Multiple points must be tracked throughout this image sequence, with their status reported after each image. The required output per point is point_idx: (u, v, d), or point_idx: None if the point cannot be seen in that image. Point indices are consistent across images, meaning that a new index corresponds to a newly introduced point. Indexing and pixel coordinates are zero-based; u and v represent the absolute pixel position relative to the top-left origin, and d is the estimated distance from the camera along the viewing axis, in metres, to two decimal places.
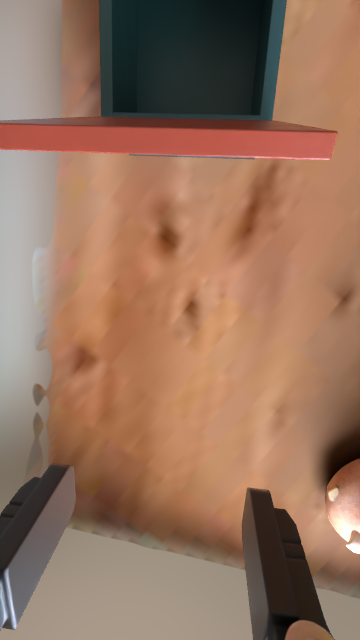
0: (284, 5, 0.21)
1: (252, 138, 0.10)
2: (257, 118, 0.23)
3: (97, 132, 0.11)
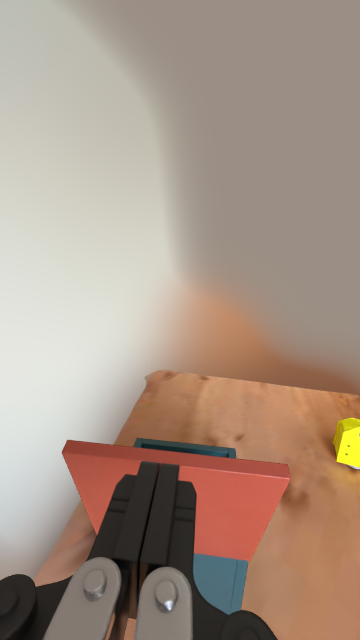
0: None
1: (239, 462, 0.18)
2: None
3: (146, 451, 0.18)
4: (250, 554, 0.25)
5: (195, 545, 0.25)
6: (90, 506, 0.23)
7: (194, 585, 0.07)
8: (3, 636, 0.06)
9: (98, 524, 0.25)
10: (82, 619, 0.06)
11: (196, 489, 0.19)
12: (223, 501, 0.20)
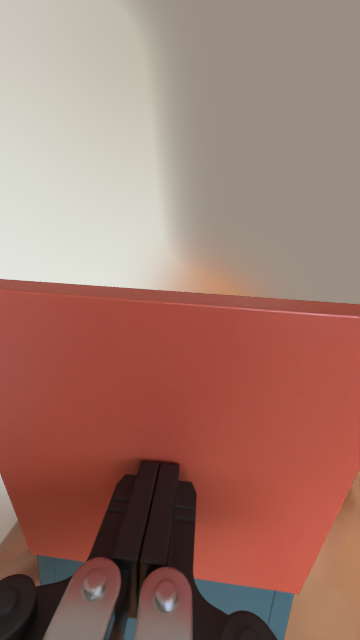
0: None
1: (306, 303, 0.08)
2: None
3: (107, 288, 0.09)
4: (302, 577, 0.14)
5: (201, 558, 0.14)
6: (6, 463, 0.12)
7: (194, 585, 0.07)
8: (3, 636, 0.06)
9: (26, 512, 0.14)
10: (82, 619, 0.06)
11: (210, 385, 0.09)
12: (264, 420, 0.09)
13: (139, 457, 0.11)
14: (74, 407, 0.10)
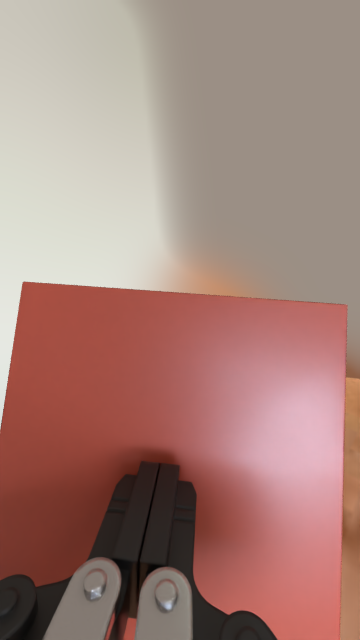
0: None
1: None
2: None
3: None
4: None
5: None
6: (5, 466, 0.12)
7: (194, 585, 0.07)
8: (3, 636, 0.06)
9: None
10: (82, 619, 0.06)
11: (210, 360, 0.12)
12: (254, 395, 0.12)
13: (144, 448, 0.12)
14: (96, 386, 0.12)
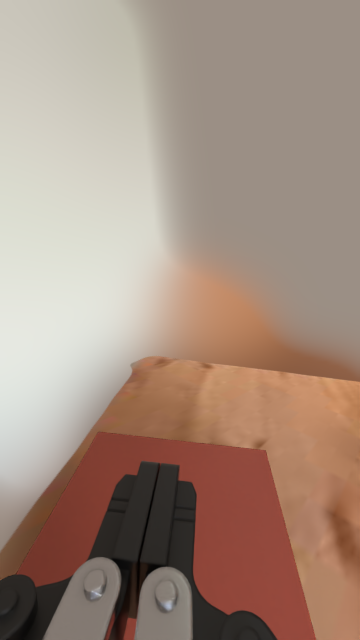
0: None
1: None
2: None
3: None
4: None
5: None
6: (57, 516, 0.17)
7: (194, 585, 0.07)
8: (3, 636, 0.06)
9: None
10: (82, 619, 0.06)
11: (197, 467, 0.21)
12: (224, 484, 0.20)
13: None
14: None
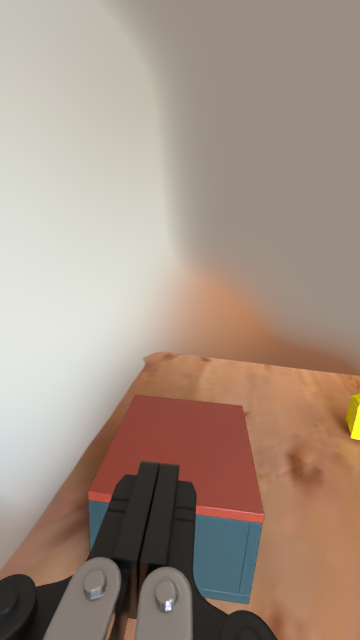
0: None
1: None
2: None
3: None
4: (257, 494, 0.24)
5: (200, 484, 0.25)
6: (121, 433, 0.30)
7: (194, 585, 0.07)
8: (3, 636, 0.06)
9: (111, 457, 0.27)
10: (82, 619, 0.06)
11: (199, 413, 0.35)
12: (215, 421, 0.33)
13: (176, 430, 0.31)
14: (159, 416, 0.34)
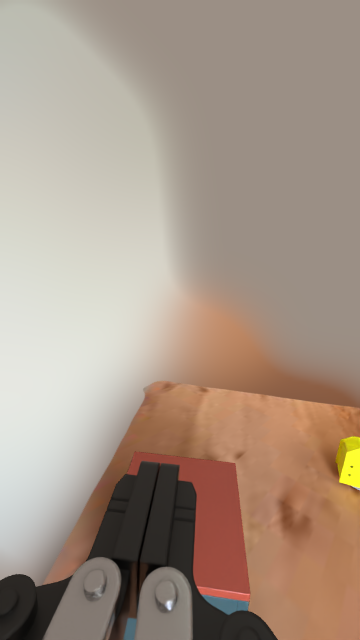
0: None
1: None
2: None
3: None
4: (245, 572, 0.27)
5: None
6: None
7: (194, 585, 0.07)
8: (3, 636, 0.06)
9: None
10: (82, 619, 0.06)
11: (194, 473, 0.37)
12: (209, 483, 0.36)
13: None
14: None
